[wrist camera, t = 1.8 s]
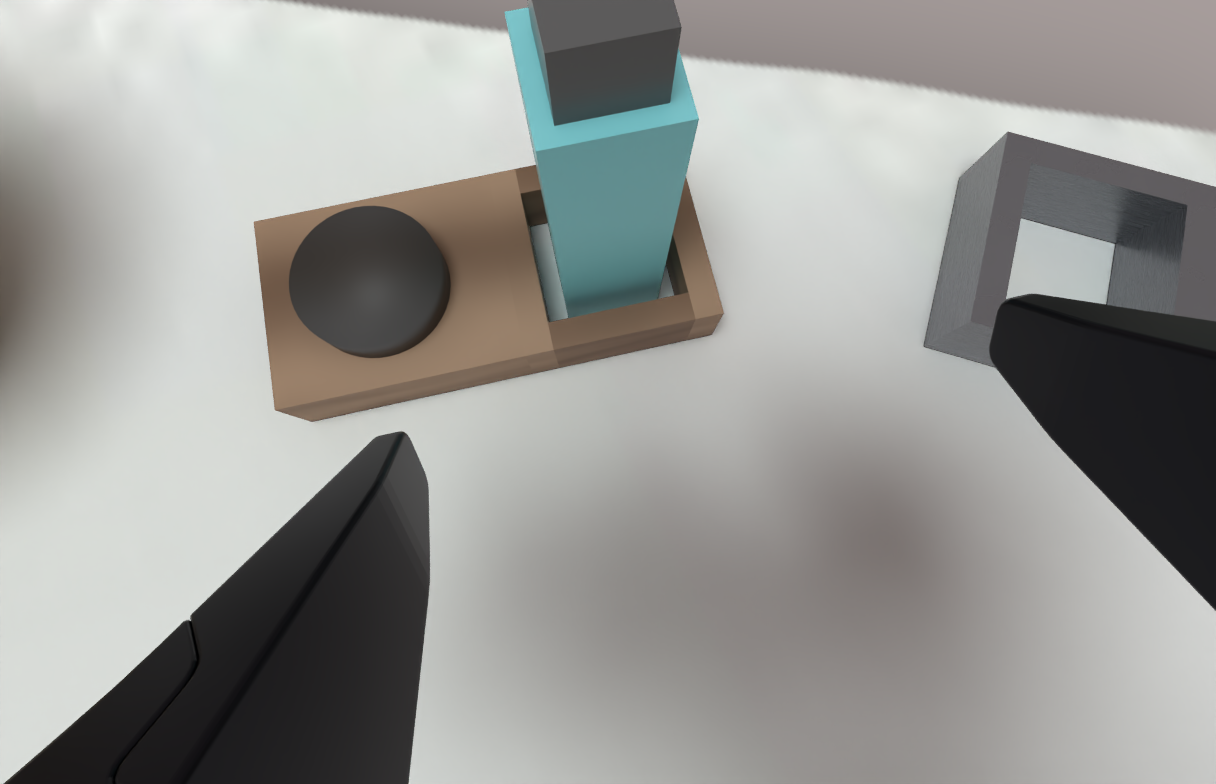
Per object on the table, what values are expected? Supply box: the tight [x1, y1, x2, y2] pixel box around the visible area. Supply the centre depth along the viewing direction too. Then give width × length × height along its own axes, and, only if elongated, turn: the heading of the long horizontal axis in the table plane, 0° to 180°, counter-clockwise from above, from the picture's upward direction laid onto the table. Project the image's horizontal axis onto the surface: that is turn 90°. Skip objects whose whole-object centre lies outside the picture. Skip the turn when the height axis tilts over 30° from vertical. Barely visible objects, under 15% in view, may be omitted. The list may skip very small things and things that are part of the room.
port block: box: [924, 132, 1216, 367], centre depth 22 cm, size 8×17×3 cm, turn 73°
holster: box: [254, 165, 724, 422], centre depth 22 cm, size 7×16×4 cm, turn 103°
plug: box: [505, 0, 699, 318], centre depth 17 cm, size 4×4×13 cm
